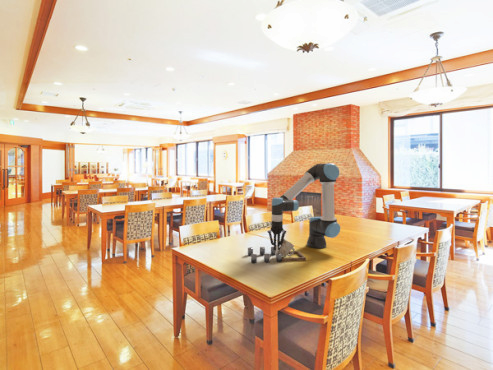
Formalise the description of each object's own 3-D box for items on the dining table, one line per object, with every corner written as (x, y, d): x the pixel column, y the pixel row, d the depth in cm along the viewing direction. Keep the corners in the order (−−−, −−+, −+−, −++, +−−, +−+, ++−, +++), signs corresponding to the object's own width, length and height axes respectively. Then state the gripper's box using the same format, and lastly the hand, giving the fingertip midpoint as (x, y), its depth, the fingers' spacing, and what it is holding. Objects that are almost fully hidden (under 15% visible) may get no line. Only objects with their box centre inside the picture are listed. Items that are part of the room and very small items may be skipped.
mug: (274, 250, 189) (281, 237, 189) (286, 256, 195) (293, 244, 196) (280, 255, 182) (288, 242, 182) (293, 261, 188) (300, 249, 188)
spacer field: (275, 253, 197) (275, 246, 196) (282, 262, 178) (282, 254, 178) (247, 254, 194) (247, 247, 193) (251, 263, 175) (251, 255, 175)
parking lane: (298, 253, 198) (298, 250, 197) (305, 260, 182) (306, 257, 182) (275, 254, 195) (276, 251, 195) (281, 261, 180) (281, 258, 180)
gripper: (284, 219, 190) (284, 252, 192) (266, 219, 188) (265, 253, 190) (288, 221, 183) (287, 256, 184) (268, 221, 181) (268, 256, 182)
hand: (276, 254), depth 187 cm, fingers closed
